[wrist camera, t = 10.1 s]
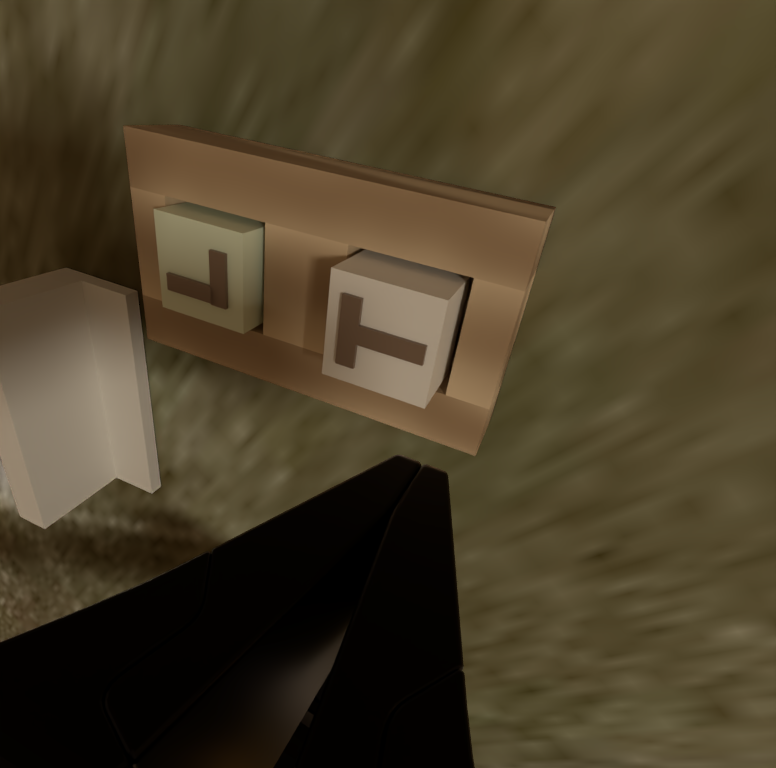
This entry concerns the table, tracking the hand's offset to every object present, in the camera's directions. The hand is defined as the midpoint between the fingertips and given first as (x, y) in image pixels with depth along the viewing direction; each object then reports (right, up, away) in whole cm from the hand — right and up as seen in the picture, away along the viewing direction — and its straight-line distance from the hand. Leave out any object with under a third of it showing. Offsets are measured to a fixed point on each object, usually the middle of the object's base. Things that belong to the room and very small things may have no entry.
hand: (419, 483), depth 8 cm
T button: (0, +4, +11) cm, 12 cm away
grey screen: (-17, +1, +23) cm, 29 cm away
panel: (-3, +6, +14) cm, 15 cm away
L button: (-7, +7, +14) cm, 17 cm away
